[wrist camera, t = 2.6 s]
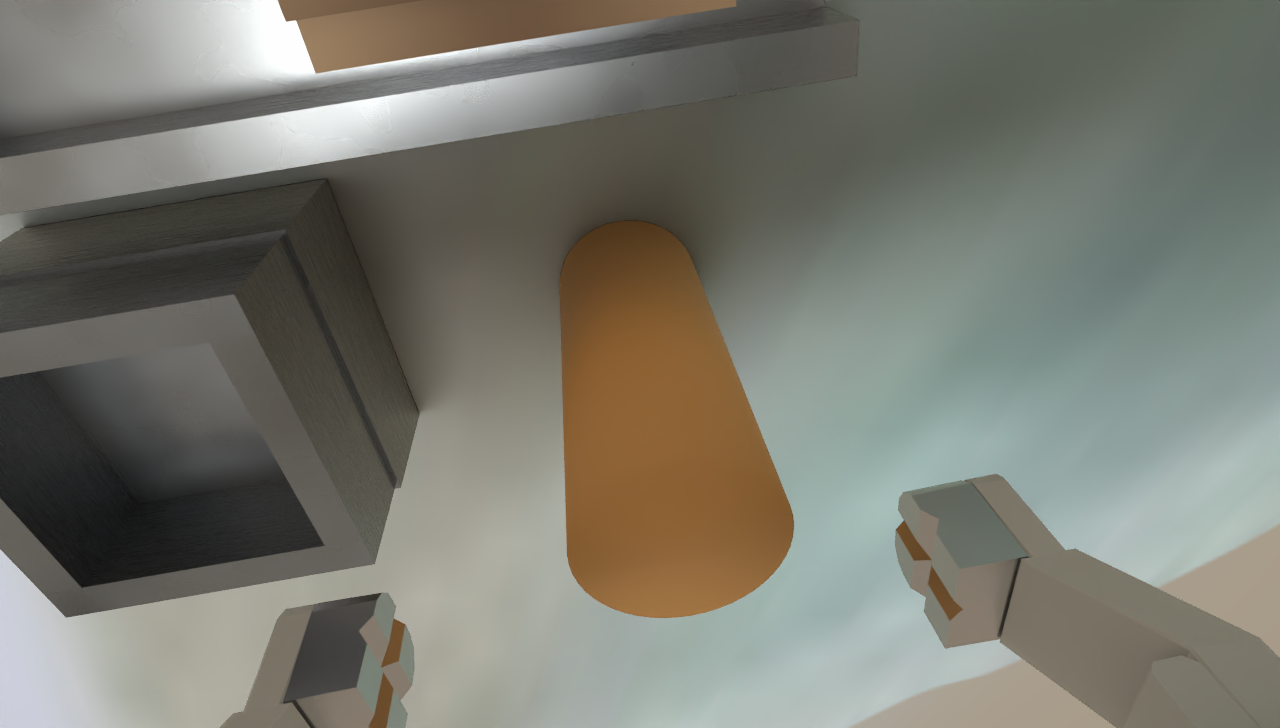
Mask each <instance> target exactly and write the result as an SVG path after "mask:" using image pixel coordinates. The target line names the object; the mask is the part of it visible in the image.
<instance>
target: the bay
mask: <svg viewBox="0 0 1280 728" xmlns="http://www.w3.org/2000/svg"><path fill="white" fill-rule="evenodd" d="M858 35H859V20H858V19H855V18H853V17H850V16H847V15H845V14H842V13H839V12H837V11H834V10H831V9H828V8H826V7H824V0H736V6H735V7H729V8H722V9H716V10H710V11H704V12H697V13H691V14H685V15H679V16H672V17H666V18H660V19H654V20H647V21H641V22H635V23H629V24H622V25H616V26H610V27H604V28H597V29H591V30H585V31H579V32H572V33H566V34H560V35H554V36H547V37H541V38H535V39H529V40H522V41H516V42H510V43H504V44H498V45H491V46H485V47H479V48H473V49H466V50H460V51H454V52H448V53H441V54H435V55H429V56H423V57H416V58H410V59H404V60H398V61H391V62H385V63H379V64H373V65H366V66H360V67H354V68H348V69H341V70H335V71H329V72H323V73H315V71H314V68H313V65H312V63H311V60H310V57H309V54H308V52H307V49H306V46H305V44H304V41H303V38H302V36H301V33H300V30H299V27H298V25H297V22H296V21H289V22H286V21H285V19H284V16H283V13H282V11H281V8H280V5H279V3H278V0H0V215H4V214H11V213H17V212H23V211H29V210H35V209H41V208H48V207H54V206H60V205H66V204H72V203H78V202H84V201H91V200H97V199H103V198H109V197H115V196H121V195H127V194H134V193H140V192H146V191H152V190H158V189H164V188H171V187H177V186H183V185H189V184H195V183H201V182H207V181H214V180H220V179H226V178H232V177H238V176H244V175H250V174H257V173H263V172H269V171H275V170H281V169H287V168H294V167H300V166H306V165H312V164H318V163H324V162H330V161H337V160H343V159H349V158H355V157H361V156H367V155H373V154H380V153H386V152H392V151H398V150H404V149H410V148H417V147H423V146H429V145H435V144H441V143H447V142H453V141H460V140H466V139H472V138H478V137H484V136H490V135H496V134H503V133H509V132H515V131H521V130H527V129H533V128H540V127H546V126H552V125H558V124H564V123H570V122H576V121H583V120H589V119H595V118H601V117H607V116H613V115H620V114H626V113H632V112H638V111H644V110H650V109H656V108H663V107H669V106H675V105H681V104H687V103H693V102H699V101H706V100H712V99H718V98H724V97H730V96H736V95H743V94H749V93H755V92H761V91H767V90H773V89H779V88H786V87H792V86H798V85H804V84H810V83H816V82H822V81H829V80H835V79H841V78H847V77H853V76H857V57H858Z"/></svg>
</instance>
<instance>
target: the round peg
mask: <svg viewBox="0 0 1280 728" xmlns="http://www.w3.org/2000/svg"><path fill="white" fill-rule="evenodd" d="M560 316H561V352H562V389H563V425H564V461H565V497H566V533H567V557H568V562H569V566H570V569H571V571H572V574H573V576H574V577H575V579H576V581H577V582H578V584H579V585H580V586H581V587H582V588H583V589H584V590H585V591H586V592H587V593H588V594H589V595H590V596H592V597H593V598H594V599H596V600H597V601H599V602H601V603H602V604H604V605H606V606H608V607H610V608H613V609H615V610H618V611H621V612H624V613H628V614H632V615H637V616H644V617H653V618H672V617H683V616H691V615H696V614H700V613H705V612H708V611H711V610H715V609H718V608H721V607H723V606H726V605H728V604H731V603H733V602H735V601H737V600H738V599H740V598H742V597H744V596H746V595H747V594H749V593H750V592H752V591H754V590H755V589H756V588H758V587H759V586H760V585H761V584H763V583H764V582H765V581H766V580H767V579H768V578H769V577H770V576H771V575H772V574H773V573H774V572H775V571H776V570H777V568H778V567H779V566H780V564H781V563H782V561H783V560H784V558H785V557H786V555H787V552H788V550H789V548H790V546H791V542H792V538H793V531H794V520H793V514H792V510H791V507H790V504H789V502H788V499H787V497H786V494H785V492H784V489H783V487H782V484H781V482H780V479H779V477H778V474H777V472H776V469H775V467H774V464H773V462H772V459H771V457H770V454H769V452H768V449H767V447H766V444H765V442H764V439H763V437H762V434H761V432H760V429H759V427H758V424H757V422H756V419H755V417H754V414H753V412H752V409H751V407H750V404H749V402H748V399H747V397H746V394H745V392H744V389H743V387H742V384H741V382H740V379H739V377H738V374H737V372H736V369H735V367H734V364H733V362H732V359H731V357H730V354H729V352H728V349H727V347H726V344H725V342H724V339H723V337H722V334H721V332H720V329H719V327H718V324H717V322H716V319H715V317H714V314H713V312H712V309H711V307H710V304H709V302H708V299H707V297H706V294H705V292H704V289H703V287H702V284H701V282H700V279H699V277H698V274H697V272H696V269H695V267H694V264H693V262H692V259H691V257H690V255H689V253H688V251H687V250H686V248H685V247H684V245H683V244H682V243H681V242H680V241H679V240H678V239H677V238H676V237H675V236H674V235H673V234H671V233H670V232H669V231H667V230H665V229H664V228H662V227H659V226H657V225H655V224H651V223H648V222H642V221H629V220H627V221H618V222H613V223H609V224H606V225H603V226H601V227H599V228H597V229H595V230H593V231H591V232H590V233H588V234H587V235H585V236H584V237H583V238H582V239H581V240H579V241H578V242H577V243H576V245H575V246H574V247H573V248H572V249H571V251H570V252H569V254H568V255H567V257H566V259H565V262H564V264H563V267H562V270H561V275H560Z"/></svg>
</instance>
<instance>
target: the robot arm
mask: <svg viewBox="0 0 1280 728" xmlns="http://www.w3.org/2000/svg"><path fill="white" fill-rule="evenodd" d="M898 511H899V512H900V514H901V516H902V517H903V519H904V521H903V522H902V523H901V524H900V526H899V527H898V528H897V529H896V536H895V547H896V552H897V558H898V562H899V565H900V567H901V570H902V572H903V575H904V576H905V578H906V580H907V582H908V584H909V586H910V588H912V589H914V590H915V591H917V592H918V593H920V594H922V595H923V596H925V597H926V601H925V608H924V612H925V614H926V616H927V618H928V619H929V621H930V623H931V625H932V626H933V628H934V630H935V632H936V633H937V635H938V637H939V639H940V640H941V642H942V644H943V646H944V647H945V648H950V647H956V646H962V645H968V644H974V643H980V642H985V641H991V640H997V639H1000V643H1002V644H1003V645H1005V646H1006V647H1007V648H1009V649H1010V650H1011V651H1013V652H1014V653H1015V654H1017V655H1018V656H1020V657H1021V658H1022V659H1024V660H1025V661H1026V662H1028V663H1029V664H1030V665H1032V666H1033V667H1035V668H1036V669H1037V670H1039V671H1040V672H1042V673H1043V674H1044V675H1045V676H1047V677H1048V678H1049V679H1051V680H1052V681H1054V682H1055V683H1056V684H1058V685H1059V686H1060V687H1062V688H1063V689H1064V690H1066V691H1068V692H1069V693H1070V694H1071V695H1073V696H1074V697H1075V698H1077V699H1078V700H1079V701H1081V702H1082V703H1084V704H1085V705H1087V706H1088V707H1089V708H1090V709H1092V710H1093V711H1094V712H1096V713H1097V714H1099V715H1100V716H1101V717H1103V718H1104V719H1105V720H1107V721H1108V722H1109V723H1111V724H1112V725H1114V726H1115V727H1116V728H1280V658H1279V657H1278V656H1277V655H1276V654H1275V653H1274V652H1273V651H1272V650H1271V649H1270V648H1269V647H1268V646H1267V645H1266V644H1265V643H1264V642H1263V641H1262V640H1261V639H1260V638H1259V637H1257V636H1255V635H1253V634H1251V633H1249V632H1247V631H1245V630H1242V629H1240V628H1238V627H1236V626H1234V625H1232V624H1230V623H1227V622H1226V621H1224V620H1222V619H1220V618H1217V617H1216V616H1213V615H1211V614H1209V613H1207V612H1205V611H1203V610H1201V609H1199V608H1197V607H1195V606H1193V605H1191V604H1189V603H1187V602H1184V601H1182V600H1180V599H1178V598H1176V597H1174V596H1172V595H1170V594H1168V593H1166V592H1164V591H1162V590H1160V589H1158V588H1156V587H1154V586H1151V585H1149V584H1147V583H1145V582H1143V581H1141V580H1139V579H1137V578H1135V577H1133V576H1131V575H1129V574H1127V573H1125V572H1122V571H1120V570H1118V569H1116V568H1114V567H1112V566H1110V565H1108V564H1106V563H1104V562H1102V561H1100V560H1098V559H1096V558H1094V557H1091V556H1089V555H1087V554H1085V553H1083V552H1081V551H1079V550H1077V549H1071V550H1065V549H1064V548H1063V546H1062V545H1061V544H1060V543H1059V542H1058V541H1057V539H1056V538H1055V537H1054V536H1053V535H1052V534H1051V532H1050V531H1049V530H1048V529H1047V528H1046V527H1045V525H1044V524H1043V523H1042V522H1041V521H1040V520H1039V518H1038V517H1037V516H1036V515H1035V514H1034V513H1033V511H1032V510H1031V509H1030V508H1029V507H1028V506H1027V504H1026V503H1025V502H1024V501H1023V500H1022V499H1021V497H1020V496H1019V495H1018V494H1017V493H1016V492H1015V490H1014V489H1013V488H1012V487H1011V486H1010V485H1009V483H1008V482H1007V481H1006V480H1005V479H1004V478H1003V477H1001V476H1000V475H998V474H993V475H988V476H983V477H978V478H973V479H967V480H964V481H956V482H951V483H946V484H941V485H936V486H931V487H926V488H921V489H916V490H912V491H907V492H903V493H902V495H901V497H900V498H899V506H898ZM395 609H396V606H395V604H394V602H393V600H392V599H391V597H390V595H389V593H378V594H372V595H366V596H359V597H353V598H347V599H341V600H335V601H329V602H323V603H318V604H314V605H308V606H302V607H296V608H290V609H286V610H285V611H284V612H283V613H282V614H281V615H280V617H279V618H278V619H277V622H276V624H275V627H274V630H273V632H272V635H271V638H270V640H269V643H268V646H267V649H266V651H265V654H264V657H263V659H262V662H261V665H260V667H259V670H258V673H257V676H256V678H255V681H254V684H253V686H252V689H251V692H250V694H249V697H248V700H247V703H246V705H245V708H244V711H243V712H238V713H234V714H232V715H231V716H230V717H229V718H228V719H227V720H226V722H225V723H224V724H223V725H222V726H221V727H220V728H405V726H406V720H407V712H406V710H405V708H404V706H403V705H402V703H401V701H400V700H401V699H402V698H403V697H404V695H405V694H406V693H407V691H408V690H409V689H410V688H411V686H412V682H413V675H414V647H413V643H412V640H411V636H410V633H409V631H408V629H407V627H406V625H405V624H403V623H401V622H399V621H397V620H395V619H394V614H395Z"/></svg>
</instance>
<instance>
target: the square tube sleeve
mask: <svg viewBox="0 0 1280 728" xmlns="http://www.w3.org/2000/svg"><path fill="white" fill-rule="evenodd" d="M418 418H419V413H418V410H417V408H416V405H415V402H414V400H413V397H412V395H411V392H410V390H409V387H408V385H407V382H406V380H405V377H404V375H403V372H402V369H401V367H400V364H399V362H398V359H397V357H396V354H395V352H394V349H393V347H392V344H391V342H390V339H389V336H388V334H387V331H386V329H385V326H384V324H383V321H382V319H381V316H380V314H379V311H378V309H377V306H376V304H375V301H374V298H373V296H372V293H371V291H370V288H369V286H368V283H367V281H366V278H365V276H364V273H363V271H362V268H361V265H360V263H359V260H358V258H357V255H356V253H355V250H354V248H353V245H352V243H351V240H350V238H349V235H348V232H347V230H346V227H345V225H344V222H343V220H342V217H341V215H340V212H339V210H338V207H337V205H336V202H335V199H334V197H333V194H332V192H331V189H330V187H329V184H328V182H327V179H321V180H315V181H309V182H303V183H297V184H291V185H285V186H278V187H272V188H266V189H260V190H254V191H248V192H242V193H235V194H229V195H223V196H217V197H211V198H205V199H199V200H193V201H186V202H180V203H174V204H168V205H162V206H156V207H150V208H143V209H137V210H131V211H125V212H119V213H113V214H107V215H101V216H94V217H88V218H82V219H76V220H70V221H64V222H58V223H51V224H45V225H39V226H33V227H27V228H22V229H20V230H19V231H17V232H15V233H14V234H12V235H10V236H9V237H7V238H6V239H4V240H2V241H1V242H0V549H1V550H2V551H3V552H4V553H5V554H6V555H7V557H8V558H9V559H10V560H11V561H12V562H13V563H14V564H15V565H16V566H17V567H18V568H19V569H20V570H21V571H22V572H23V573H24V574H25V575H26V576H27V577H28V578H29V579H30V580H31V581H32V582H33V583H34V585H35V586H36V587H37V588H38V589H39V590H40V591H41V592H42V593H43V594H44V595H45V596H46V597H47V598H48V599H49V600H50V601H51V602H52V603H53V604H54V605H55V606H56V607H57V608H58V609H59V610H60V612H61V613H62V614H63V615H64V616H65V617H72V616H78V615H84V614H89V613H95V612H101V611H107V610H112V609H118V608H124V607H130V606H135V605H141V604H147V603H153V602H158V601H164V600H170V599H176V598H181V597H187V596H193V595H199V594H205V593H210V592H216V591H222V590H228V589H233V588H239V587H245V586H251V585H256V584H262V583H268V582H274V581H279V580H285V579H291V578H297V577H302V576H308V575H314V574H320V573H325V572H331V571H337V570H343V569H349V568H354V567H360V566H366V565H372V564H375V561H376V557H377V554H378V550H379V546H380V542H381V538H382V535H383V531H384V527H385V523H386V520H387V516H388V512H389V508H390V504H391V501H392V497H393V493H394V489H395V488H401V485H402V481H403V477H404V473H405V469H406V465H407V461H408V457H409V453H410V449H411V445H412V441H413V437H414V434H415V430H416V426H417V422H418Z"/></svg>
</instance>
